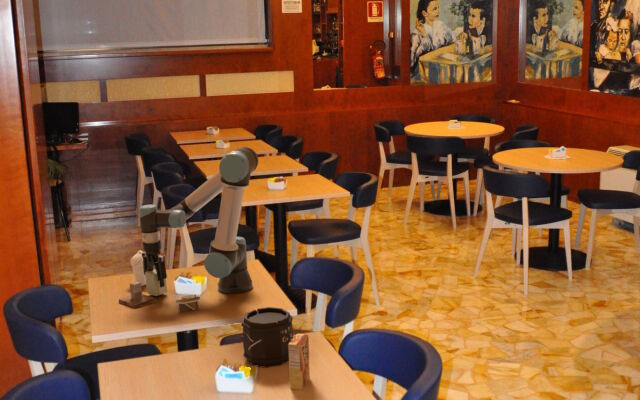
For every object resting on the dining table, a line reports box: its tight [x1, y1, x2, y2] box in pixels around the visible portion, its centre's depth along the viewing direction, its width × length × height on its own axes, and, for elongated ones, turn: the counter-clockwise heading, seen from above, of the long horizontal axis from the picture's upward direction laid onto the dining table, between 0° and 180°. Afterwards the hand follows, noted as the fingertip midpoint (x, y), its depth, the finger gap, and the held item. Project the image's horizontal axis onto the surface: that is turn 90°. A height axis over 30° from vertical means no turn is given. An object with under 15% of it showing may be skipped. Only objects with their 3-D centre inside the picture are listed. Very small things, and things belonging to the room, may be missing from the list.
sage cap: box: [145, 268, 168, 297], centre depth 343 cm, size 6×6×10 cm
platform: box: [175, 294, 201, 312], centre depth 324 cm, size 12×18×7 cm, turn 113°
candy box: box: [288, 333, 311, 391], centre depth 254 cm, size 9×4×15 cm, turn 163°
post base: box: [118, 280, 156, 309], centre depth 336 cm, size 12×10×8 cm
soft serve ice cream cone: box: [129, 249, 147, 287], centre depth 358 cm, size 8×8×16 cm
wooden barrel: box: [240, 306, 294, 368], centre depth 274 cm, size 18×18×16 cm
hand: (157, 292), depth 344 cm, fingers closed on sage cap, 6 cm apart
